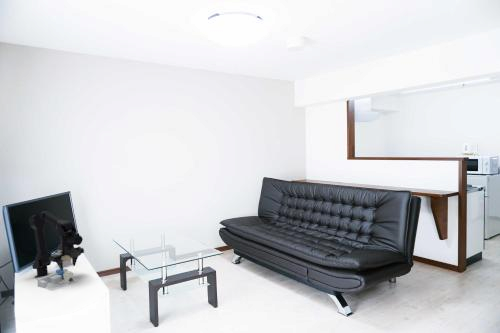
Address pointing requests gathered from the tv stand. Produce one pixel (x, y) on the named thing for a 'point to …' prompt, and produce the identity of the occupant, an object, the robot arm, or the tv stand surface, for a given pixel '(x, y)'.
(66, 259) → the coffee cup
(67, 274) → the cream cube with dome
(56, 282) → the grey backboard with ledge
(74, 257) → the robot arm
